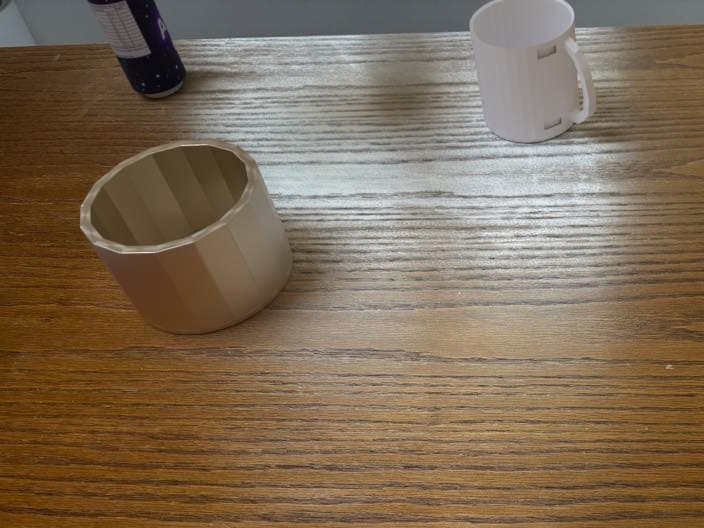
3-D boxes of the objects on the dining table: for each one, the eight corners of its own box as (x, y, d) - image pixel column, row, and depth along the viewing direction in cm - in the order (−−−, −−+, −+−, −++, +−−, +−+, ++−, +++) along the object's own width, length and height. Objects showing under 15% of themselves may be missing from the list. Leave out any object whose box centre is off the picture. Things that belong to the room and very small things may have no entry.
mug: (465, 116, 80) (448, 21, 73) (539, 77, 83) (530, -18, 76) (544, 171, 74) (534, 74, 67) (621, 127, 77) (619, 29, 70)
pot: (99, 308, 68) (41, 226, 62) (205, 208, 75) (163, 125, 68) (224, 354, 64) (176, 272, 57) (324, 243, 71) (292, 159, 64)
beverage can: (196, 88, 88) (143, -28, 78) (143, 108, 86) (82, -9, 77) (181, 65, 91) (129, -50, 81) (130, 84, 89) (70, -31, 80)
